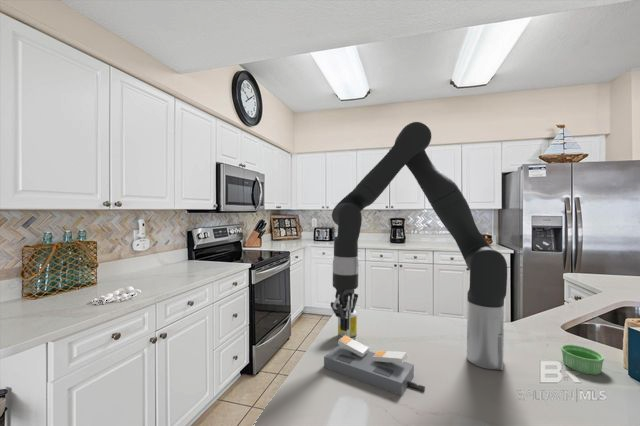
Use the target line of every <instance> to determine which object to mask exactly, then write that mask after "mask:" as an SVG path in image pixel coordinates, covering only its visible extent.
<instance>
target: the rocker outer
mask: <svg viewBox="0 0 640 426" xmlns="http://www.w3.org/2000/svg"><path fill="white" fill-rule="evenodd" d="M337 345H338V346H339V345H340V346H342V347H344V348H346V349H348V350H350V351H351V352H353V353H355V354H357V355H359V356H361V357H363V356H364V355H365V354H366V353H367V352H368V351H370V348H369V346H367V345H366V344H362V343H361V342H359V341H357V340H355V339H351V338H349V337H347V336H346V335H345V336H343V337H342V338H339V339H338V342H337Z"/></svg>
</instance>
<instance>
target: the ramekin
mask: <svg viewBox="0 0 640 426" xmlns="http://www.w3.org/2000/svg"><path fill="white" fill-rule="evenodd" d="M560 349H561V353H562V362H563V364H564V365H565V366H566V365H567V367H568V368H569V367H570V369H571V368H572V369H571V370H573V369H574V370H573V371H576V372H579V373H582V374H586V375H595V376H596V375H600V374H601V373H602V370H603V363H604V360H605V357H604V355H603V354H602V353H600V352H598V351H596V350H594V349H592V348H588V347H585V346H581V345H577V344H576V345H575V344H562V345H561V347H560Z"/></svg>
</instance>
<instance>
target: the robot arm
mask: <svg viewBox="0 0 640 426" xmlns="http://www.w3.org/2000/svg"><path fill="white" fill-rule="evenodd" d="M431 141H432V131H431V129H430V127H429V126H428V125H427V124H426V123H424V122H421V121H413V122H410V123H408V124H407V125H405V126H404V127H403V128H402V129H401V131H400V132H399V134H398V135H397V137H396V138H395V140H394V144H393V145H392V147H391V148H390V150H388V152H387V153H386V154H385V155H384V157H382V159H381V160H380V161H378V163H377V164H376V165H375V166H374V167H373V168H372V169H371V170H369V172H368V173H366V175H364V177H363V178H362V180H360V182H359V183H358V184H356V186H355V187H354V189H353V190H352V191H351V192H349V193H348V194H347V195H345V197H343V198H342V199H341V200H340V201H339V202H337V204H335V206H334V207H333V210H332V214H331V219H332V221H333V223H334V224H336V225H337V236H336V237H335V238H334V240H333V258H332V260H333V261H332V288H334V289H335V290H336V291H335V300H334V302H333V301H331V303H330V307H331V309H332V312H333V313H334V316H335V317H336V318H338V317H340V329H341V330H343V331H347V330H348V329H349V317H350V316H351V313H353V312H354V310H355V308H356V306H357V302H358V298H359V294H357V293H355V290H356V289H358V287H359V258H358V257H359V256H358V254H359V244H358V243H359V237H360V234H361V228H362V219H363V216H362V211H363V210H364V209H366V207H369V206H370V205H371V206H372V204H374V202H375V201H376V200H377V199H378V198H379V197H380V196H381V194H382V193H383V192H384V191H385V190H386V189H387V187H388V186H389V185H390V184H391V182H392V181H393V180H394V178H396V176H397V175H398V173H400V171H401V170H403V168H404V167H405V166H406V167H407V168H408V170H409V172H410V173H411V174H412V176H413V177H414V179H415V180H416V182H417V184H418V185H419V187H420V189H421V190H422V192H423V194H424V196H425V197H426V199H427V201H428V203H429V204H430V206H431V207H432V209H433V211H434V213H435V214H436V216H437V217H438V219H439V220H440V222H441V223H442V225H443V226H444V227H445V229H446V230H447V232H448V233H449V234H450V235H451V236H452V238H453V240H454V241H455V243H456V245H457V246H458V249H459V251H460V253H461V255H462V258H463V261H464V262H465V265H466V266H467V269H468V270H469V289H468V291H467V297H466V298H467V299H466V301H467V303H466V304H467V305H466V307H467V308H466V320H467V321H466V359H467V361H469V362H470V363H471V364H473V365H475V366H477V367H480V368H481V369H487V370H501V371H503V370H504V359H505V358H504V352H505V350H504V345H505V343H504V341H505V339H504V338H505V337H504V334H505V330H504V321H505V320H504V318H505V317H504V316H505V315H504V314H505V313H504V312H505V311H504V308H505V307H504V305H505V298H506V296H507V285H508V263H507V260H506V258H505V256H504V254H502V253H501V252H500V251H498V250H496V249H493V248H492V246H491V245H490V244H489V242H487V240H486V239H485V238H484V236H483V234H482V233H481V232H480V230H479V228H478V227H477V225H476V222H475V219H474V216H473V213H472V211H471V208H470V206H469V202H468V201H467V199H466V197H465V196H464V194H463V193H462V191H461V189H460V188H459V187H458V185H457V184H456V182H455V181H453V180H452V179H451V177H449V176H448V175H446V174H445V173H444V172H443V171H441V170H440V169H439V168H437V167H436V166H435V165H434V163H433V162H432V161H431V159H430V157H429V155H428V154H427V152H426V149H427V148H428V147H429V145H430V143H431Z"/></svg>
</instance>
